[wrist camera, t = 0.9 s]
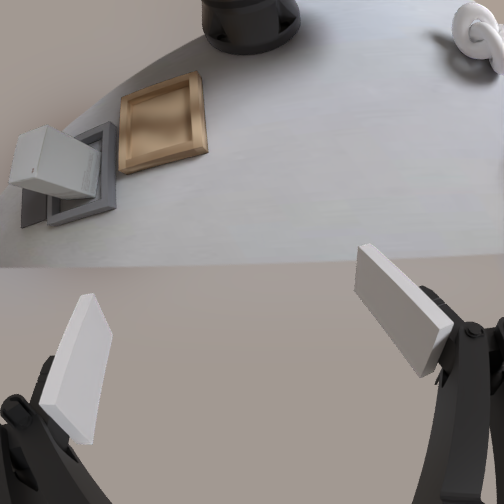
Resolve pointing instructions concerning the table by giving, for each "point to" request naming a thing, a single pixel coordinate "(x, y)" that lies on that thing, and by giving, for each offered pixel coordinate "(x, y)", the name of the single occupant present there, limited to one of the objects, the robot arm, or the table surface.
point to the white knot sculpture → (479, 35)
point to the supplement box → (55, 164)
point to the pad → (33, 207)
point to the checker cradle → (107, 179)
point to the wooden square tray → (162, 124)
